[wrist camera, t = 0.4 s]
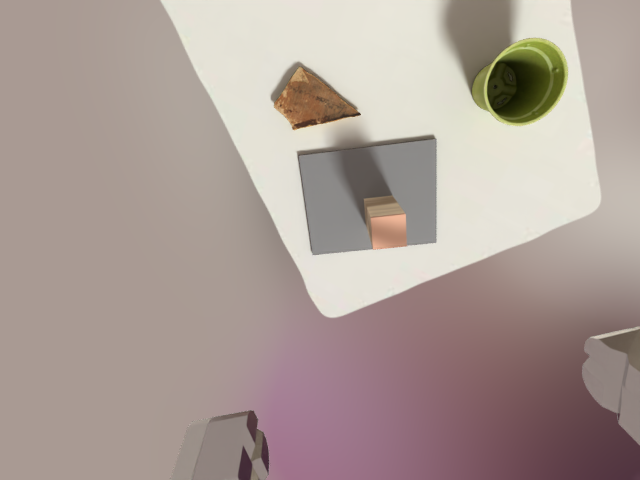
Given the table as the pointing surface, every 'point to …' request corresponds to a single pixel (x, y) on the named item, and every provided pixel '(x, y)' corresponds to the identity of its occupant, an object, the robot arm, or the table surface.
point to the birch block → (385, 222)
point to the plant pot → (522, 82)
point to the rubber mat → (368, 192)
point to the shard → (311, 102)
